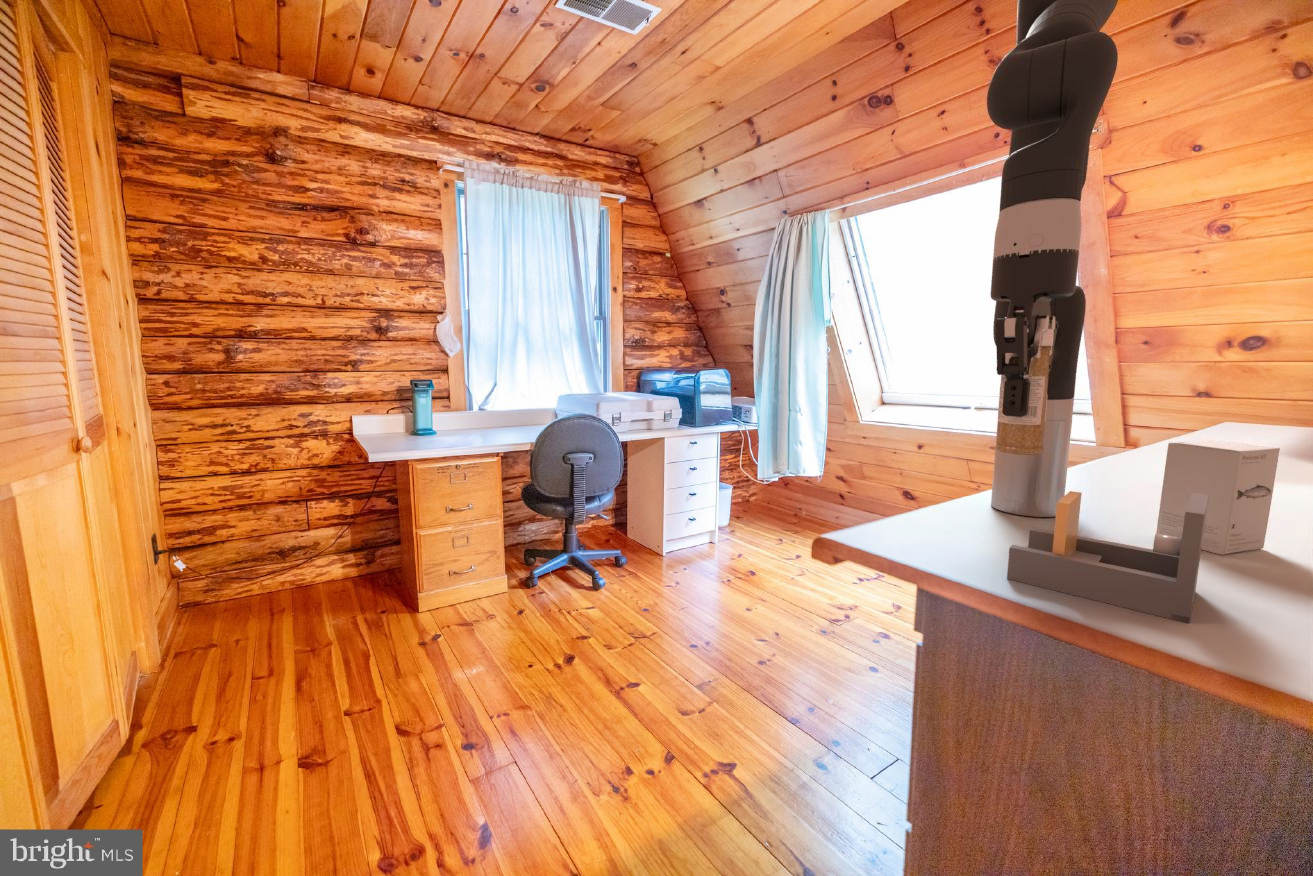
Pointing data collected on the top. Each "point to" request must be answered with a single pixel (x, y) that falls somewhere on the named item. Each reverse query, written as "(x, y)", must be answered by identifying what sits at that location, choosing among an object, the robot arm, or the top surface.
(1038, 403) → the sprinkles bottle
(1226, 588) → the top surface
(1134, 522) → the top surface
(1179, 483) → the supplement box
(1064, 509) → the block
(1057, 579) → the lane
